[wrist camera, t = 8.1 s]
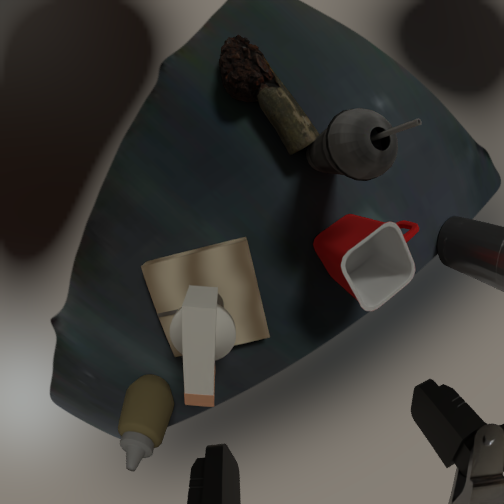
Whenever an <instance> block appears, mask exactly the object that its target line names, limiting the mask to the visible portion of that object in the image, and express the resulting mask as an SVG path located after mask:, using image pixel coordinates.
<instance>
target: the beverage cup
mask: <svg viewBox="0 0 504 504" xmlns="http://www.w3.org/2000/svg"><path fill="white" fill-rule="evenodd" d="M421 123H422V122H421V120H420V119H419V118H418V119H415V120H413V121H410V122H407V123H404V124H402V125H399V126H396V127H394V128H393V127H392V126H391V124H390V123H389V122H388V121H387V120H386V119H385V118H384V117H383V116H382V115H380V114H378V113H376V112H374V111H372V110H367V109H361V108H358V109H350V110H345V111H342V112H340V113H339V114H337V115H336V116H334V118H333V119H332V121H331V122H330V123H329V125H328V128H327V129H326V130H324V131H323V132H322V133H321V134H320V135H319V136H318V137H317V138H316V139H315V141H314V142H312V143H311V144H310V145H309V146H308V148H307V152H306V158H307V160H308V163H309V164H310V166H311V167H312V168H314V169H315V170H317V171H320V172H324V173H332V174H340V175H345V176H347V177H349V178H352V179H354V180H359V181H367V180H371V179H374V178H376V177H378V176H380V175H382V174H383V173H385V172H386V171H387V170H388V169H389V168H390V167H391V166H392V164H393V163H394V161H395V159H396V156H397V151H398V141H397V137H396V134H395V133H397V132H400V131H403V130H406V129H409V128H412V127H415V126H418V125H421Z"/></svg>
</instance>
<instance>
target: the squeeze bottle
mask: <svg viewBox="0 0 504 504" xmlns="http://www.w3.org/2000/svg"><path fill="white" fill-rule="evenodd" d="M173 408H174V400H173V397H172V393H171V389H170V387H169V384H168V383H167V382H166V381H165V380H164V379H162V378H161V377H159V376H156V375H152V374H151V375H144V376H141V377H140V378H139V379H137V380H136V381H135V382H134V383H132V384H131V385H130V386H129V388H128V389H127V391H126V395H125V399H124V403H123V407H122V412H121V416H120V420H119V425H118V432H119V433H120V435H121V436H122V437H121V440H120V446H121V447H122V449H123V450H124V451H126V468H127V469H128V470H130V471H135V470H136V468H137V467H138V465H139V463H140V461H141V460H142V458H147V457H150V456H151V455H152V453H153V449H154V448H156V447H158V446H159V445H160V444H161V443H162V440H163V437H164V434H165V431H166V429H167V426H168V423H169V420H170V417H171V414H172V412H173Z"/></svg>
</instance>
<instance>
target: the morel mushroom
mask: <svg viewBox="0 0 504 504" xmlns="http://www.w3.org/2000/svg"><path fill="white" fill-rule="evenodd" d="M249 42H250V41H249V40H248V39H247V38H242V37H241V36H240V35H237V36H236V37H233V38H230V37H229V38H228V39H227V40H226V41H225V43H224V45H223V46H222V47H221V55H220V56H221V57H220V59H219V66H220V67H221V75H222V79H223V86H224V87H225V88H226V92H227V93H229V94H230V96H231V97H232V98H234V99H236V100H240V101H245V102H256V101H258V102H259V106H260V108H261V109H262V111H263V112H264V114H265V115H266V117H267V118H268V120H269V121H270V123H271V124H272V126H273V127H274V128H275V130H276V132H277V133H278V135H279V137H280V139H281V140H282V142H283V144H284V146H285V147H286V149H287V151H288V153H289V154H290V155H291V154H294V153H296V152H298V151H300V150H301V149H303V148H305V147H306V146H308V145H310V144H311V143H312V142H314V141H315V139H316V138H317V137H318V136H319V135H320V134H319V133H318V132H317V130H316V129H315V127H314V126H313V124H312V123H311V121H310V120H309V119H308V117H307V116H306V114H305V113H304V111H303V110H302V109H301V107H300V106H299V104H298V103H297V102H296V100H295V99H294V98H293V96H292V95H291V94H290V92H289V91H288V90H287V88H286V87H285V86H284V85H283V83H282V82H281V81H280V79H279V78H278V77H277V75H276V74H275V73H274V71H273V70H272V69H271V67H270V65H269V64H268V62H267V61H266V59H265V58H264V56H263V54H262V52H261V51H259V49H258V47H257V46H256V45H252V44H249Z"/></svg>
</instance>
